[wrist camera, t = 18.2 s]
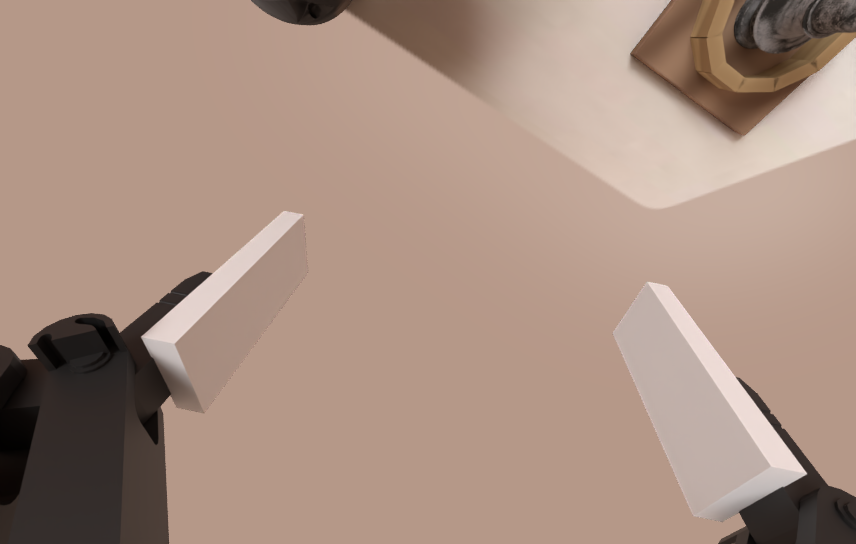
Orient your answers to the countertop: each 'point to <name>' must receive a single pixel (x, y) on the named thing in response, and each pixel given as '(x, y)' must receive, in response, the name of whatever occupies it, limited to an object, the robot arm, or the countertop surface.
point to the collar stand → (727, 61)
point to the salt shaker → (791, 22)
